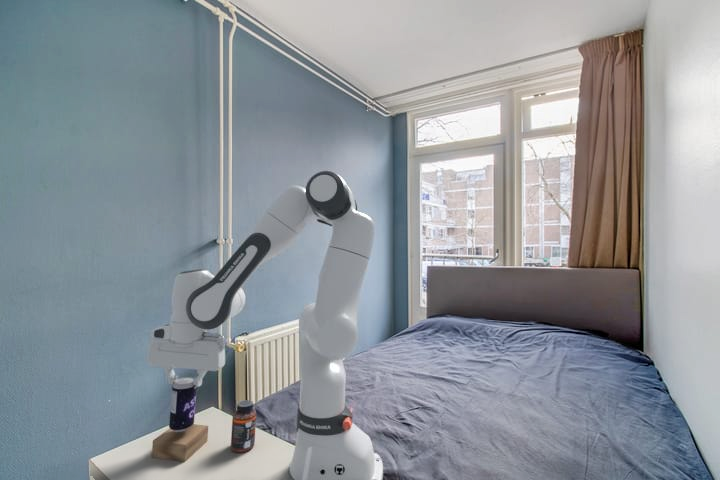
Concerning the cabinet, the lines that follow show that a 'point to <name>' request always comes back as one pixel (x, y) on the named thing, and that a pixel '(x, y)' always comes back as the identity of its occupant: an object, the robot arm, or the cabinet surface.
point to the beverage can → (182, 404)
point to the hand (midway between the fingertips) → (184, 384)
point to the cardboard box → (179, 443)
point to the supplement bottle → (243, 427)
